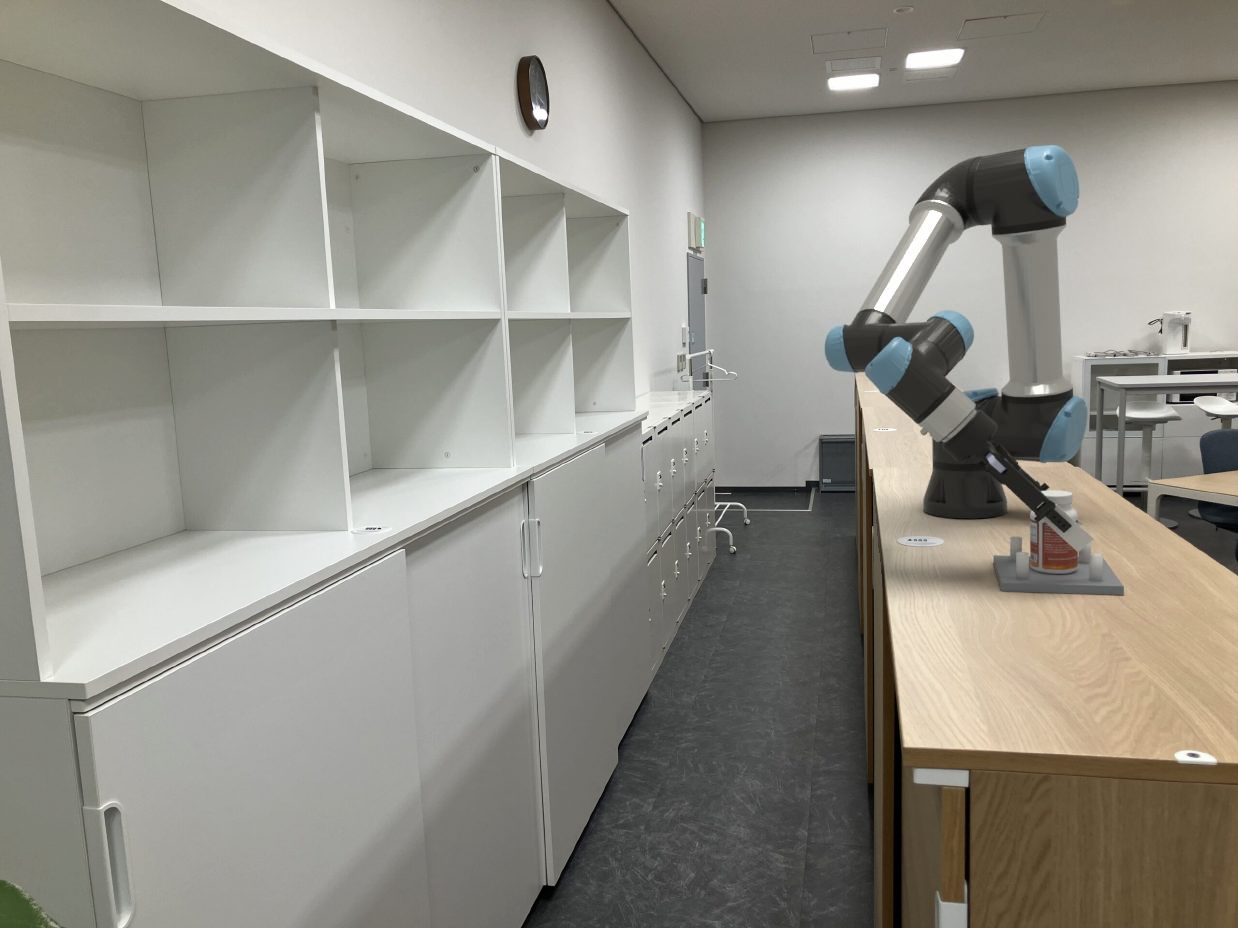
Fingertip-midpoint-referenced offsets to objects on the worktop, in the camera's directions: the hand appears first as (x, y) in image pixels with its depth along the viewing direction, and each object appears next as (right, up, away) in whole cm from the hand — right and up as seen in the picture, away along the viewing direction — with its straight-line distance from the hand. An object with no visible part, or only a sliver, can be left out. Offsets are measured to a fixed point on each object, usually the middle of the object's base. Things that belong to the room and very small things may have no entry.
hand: (1079, 536), depth 131 cm
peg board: (-3, -6, +2) cm, 7 cm away
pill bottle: (-3, -5, +2) cm, 6 cm away
